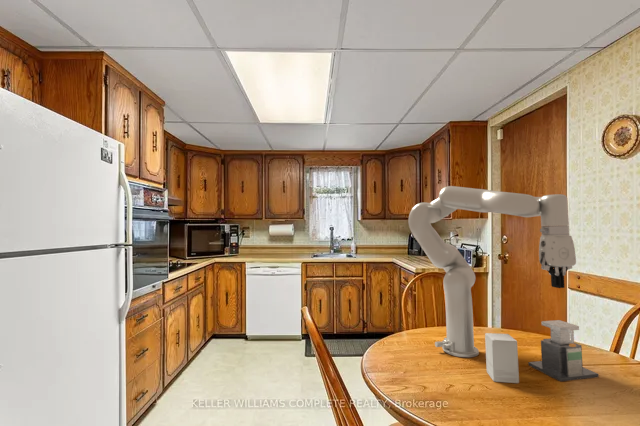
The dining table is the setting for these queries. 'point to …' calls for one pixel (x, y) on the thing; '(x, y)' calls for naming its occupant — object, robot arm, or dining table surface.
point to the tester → (562, 362)
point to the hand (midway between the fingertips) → (557, 287)
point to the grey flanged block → (561, 331)
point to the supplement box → (502, 357)
